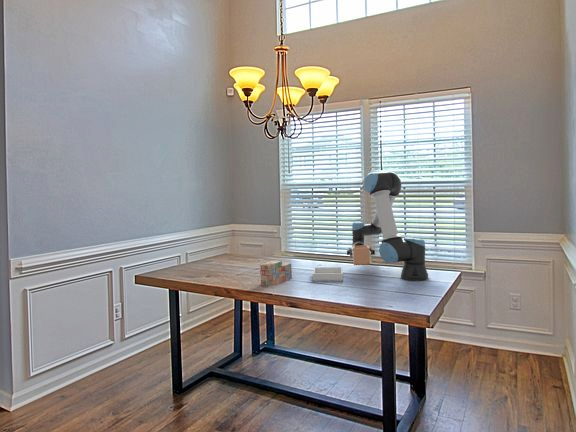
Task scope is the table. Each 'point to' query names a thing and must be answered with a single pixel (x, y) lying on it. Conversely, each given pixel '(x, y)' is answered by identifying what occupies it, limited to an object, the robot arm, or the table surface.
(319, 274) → the grey crate
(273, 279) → the stack of blocks
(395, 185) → the robot arm
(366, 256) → the terracotta crate
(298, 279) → the table surface
